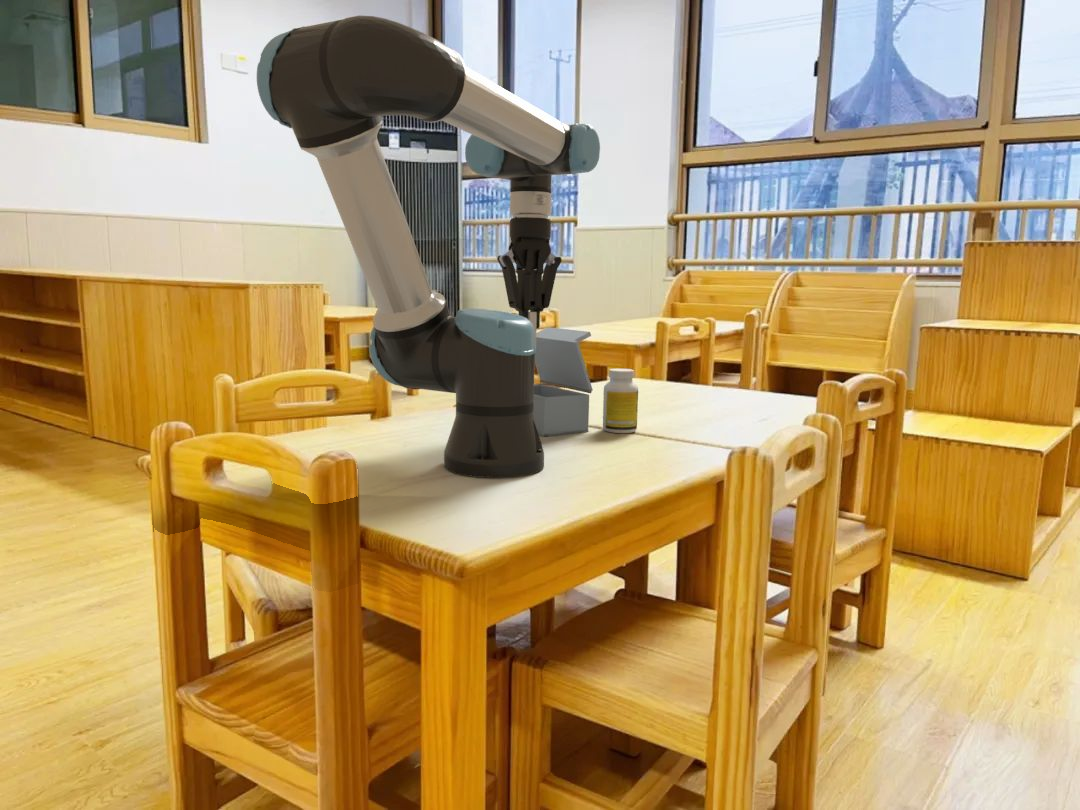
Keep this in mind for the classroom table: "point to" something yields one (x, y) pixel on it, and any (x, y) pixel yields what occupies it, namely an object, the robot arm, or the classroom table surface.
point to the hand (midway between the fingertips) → (528, 346)
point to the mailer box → (560, 411)
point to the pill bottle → (620, 402)
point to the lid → (562, 359)
